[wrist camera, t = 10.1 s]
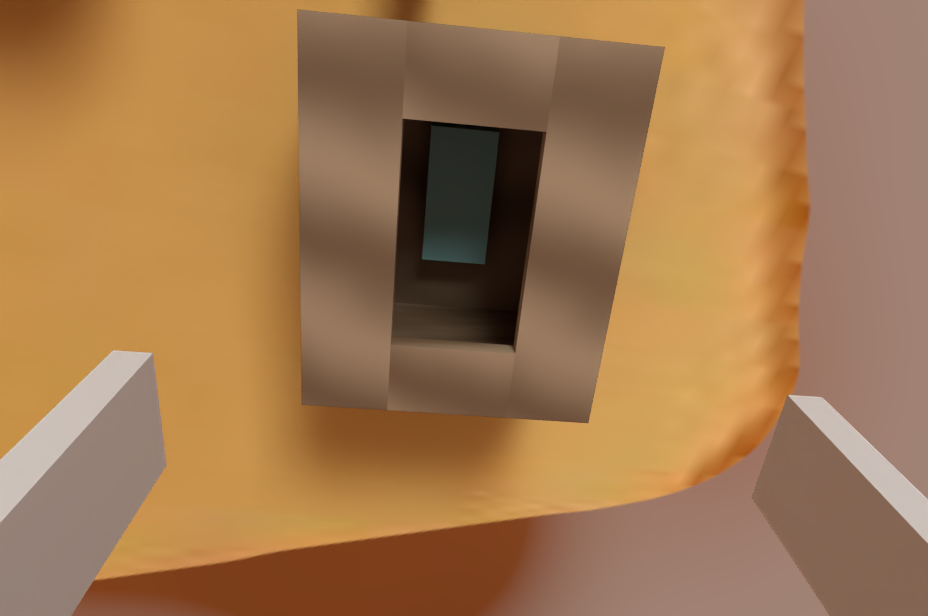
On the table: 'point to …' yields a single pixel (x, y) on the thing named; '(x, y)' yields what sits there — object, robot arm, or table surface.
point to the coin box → (510, 227)
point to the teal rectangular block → (459, 192)
